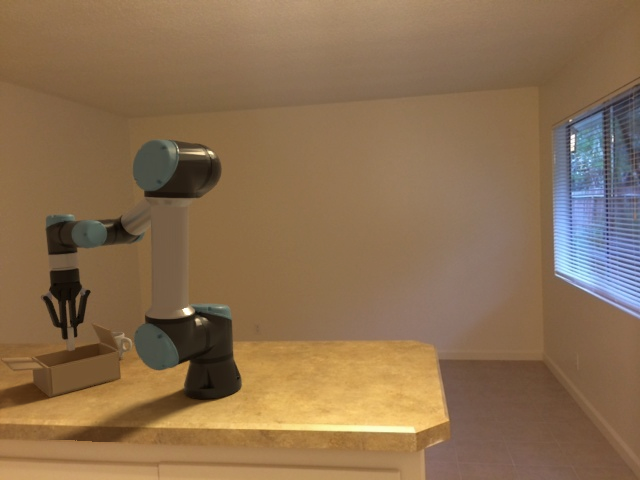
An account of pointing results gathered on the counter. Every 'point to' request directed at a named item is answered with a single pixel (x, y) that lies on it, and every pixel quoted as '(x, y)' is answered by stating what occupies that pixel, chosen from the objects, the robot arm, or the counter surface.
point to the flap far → (105, 336)
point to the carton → (76, 369)
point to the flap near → (21, 363)
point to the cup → (120, 343)
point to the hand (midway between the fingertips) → (70, 349)
